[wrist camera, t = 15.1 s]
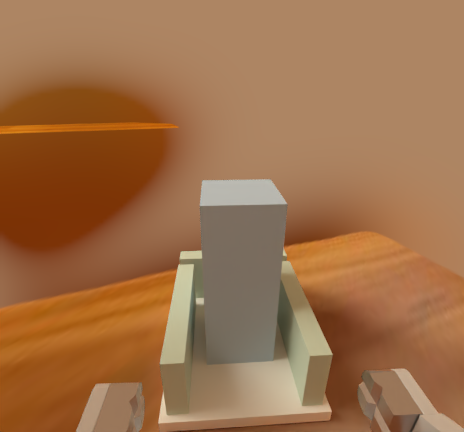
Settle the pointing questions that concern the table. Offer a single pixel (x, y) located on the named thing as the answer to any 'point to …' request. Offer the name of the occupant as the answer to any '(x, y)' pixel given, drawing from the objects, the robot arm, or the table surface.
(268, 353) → the block
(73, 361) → the table surface
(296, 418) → the cradle
